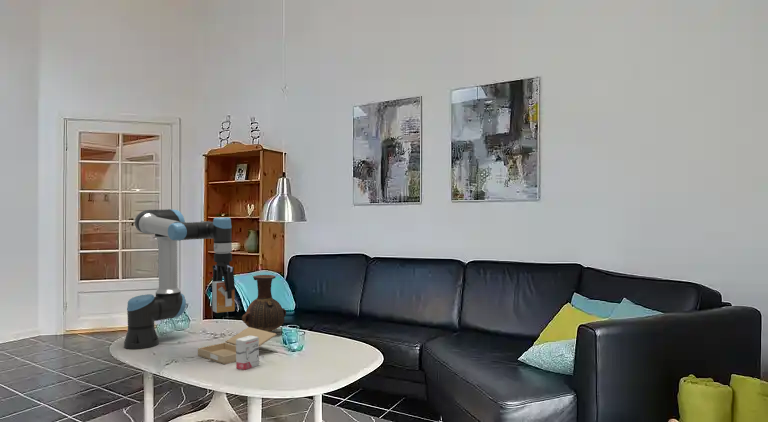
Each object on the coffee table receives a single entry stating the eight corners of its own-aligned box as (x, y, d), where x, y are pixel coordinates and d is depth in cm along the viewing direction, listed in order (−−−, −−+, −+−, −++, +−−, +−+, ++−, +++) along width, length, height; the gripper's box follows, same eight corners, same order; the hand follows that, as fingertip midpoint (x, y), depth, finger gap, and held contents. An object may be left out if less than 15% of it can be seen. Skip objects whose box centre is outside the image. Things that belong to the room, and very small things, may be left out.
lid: (248, 326, 262) (249, 328, 262) (224, 341, 252) (225, 343, 252) (276, 333, 247) (276, 335, 247) (251, 349, 237) (252, 351, 238)
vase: (255, 341, 267) (254, 279, 267) (232, 335, 280) (232, 276, 280) (295, 332, 285) (295, 274, 285) (272, 327, 298) (271, 272, 298)
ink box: (244, 370, 219) (243, 340, 219) (235, 368, 222) (235, 339, 222) (259, 364, 227) (259, 336, 226) (251, 363, 229) (250, 335, 229)
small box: (216, 313, 235) (216, 282, 235) (212, 311, 240) (211, 281, 240) (235, 311, 239) (234, 281, 239) (230, 309, 245) (230, 279, 245)
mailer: (197, 355, 242) (197, 348, 242) (225, 349, 252) (224, 342, 252) (223, 364, 228) (223, 356, 228) (251, 357, 237) (251, 350, 237)
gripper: (203, 252, 244) (204, 303, 244) (227, 254, 230) (228, 309, 230) (218, 251, 249) (219, 301, 249) (243, 253, 235) (243, 306, 236)
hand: (223, 305), depth 240 cm, fingers closed on small box, 7 cm apart
